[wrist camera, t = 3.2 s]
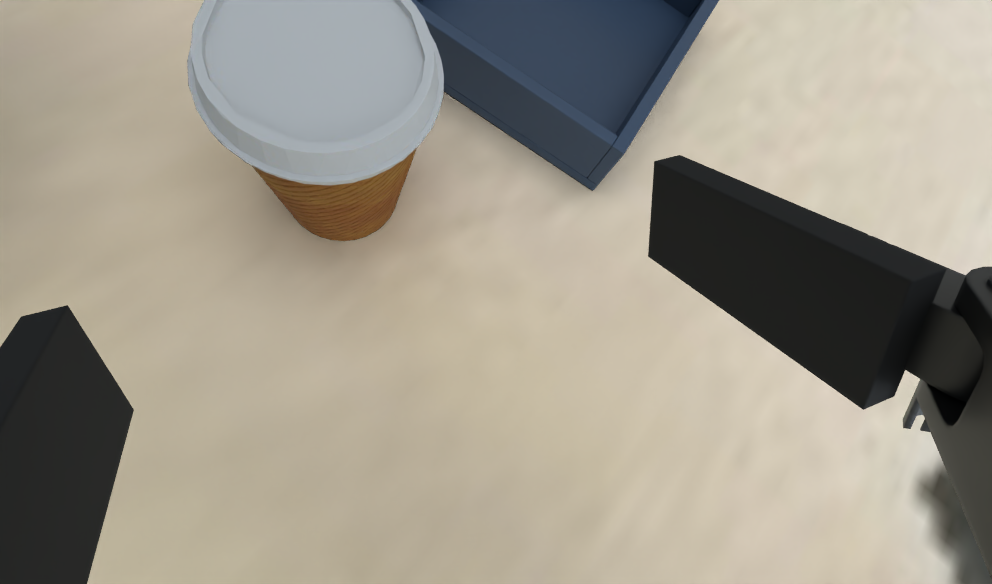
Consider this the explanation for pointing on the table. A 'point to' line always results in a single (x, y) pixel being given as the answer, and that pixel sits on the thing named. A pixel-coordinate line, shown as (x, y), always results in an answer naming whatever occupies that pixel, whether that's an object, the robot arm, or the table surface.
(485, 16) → the bin
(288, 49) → the disposable coffee cup
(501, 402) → the table surface
